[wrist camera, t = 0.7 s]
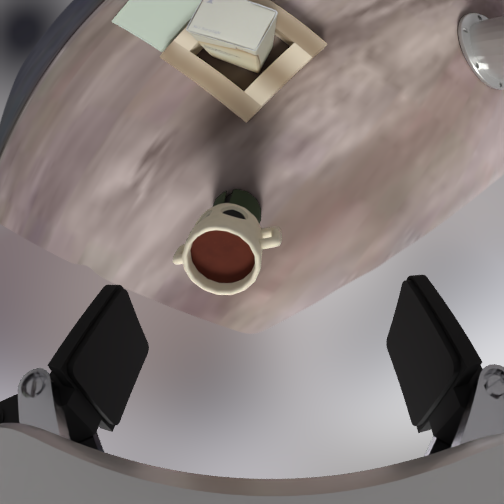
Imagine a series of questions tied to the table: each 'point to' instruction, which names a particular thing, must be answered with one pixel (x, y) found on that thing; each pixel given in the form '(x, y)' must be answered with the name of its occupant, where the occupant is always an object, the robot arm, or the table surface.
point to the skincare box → (235, 31)
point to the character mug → (227, 245)
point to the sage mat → (156, 19)
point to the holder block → (267, 84)
